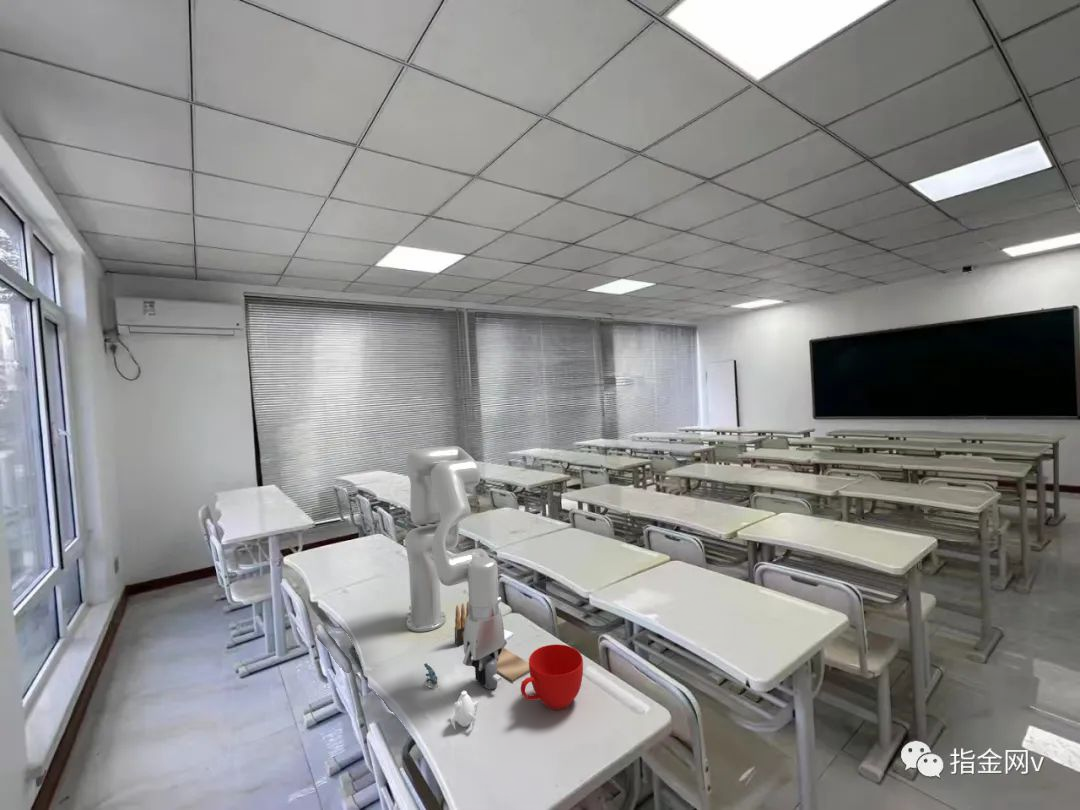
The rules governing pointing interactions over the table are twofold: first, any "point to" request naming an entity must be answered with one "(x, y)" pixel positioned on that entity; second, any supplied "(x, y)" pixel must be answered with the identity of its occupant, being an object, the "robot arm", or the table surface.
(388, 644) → the table surface
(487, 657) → the connector
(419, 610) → the robot arm
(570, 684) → the ceramic cup
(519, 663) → the wood pad
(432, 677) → the sculpture
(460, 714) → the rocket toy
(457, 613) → the ammunition clip
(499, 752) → the table surface
